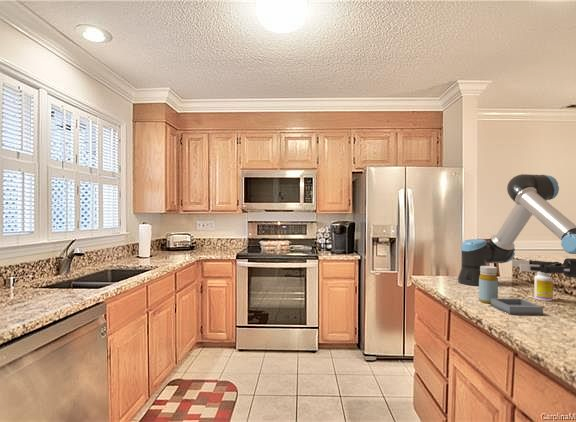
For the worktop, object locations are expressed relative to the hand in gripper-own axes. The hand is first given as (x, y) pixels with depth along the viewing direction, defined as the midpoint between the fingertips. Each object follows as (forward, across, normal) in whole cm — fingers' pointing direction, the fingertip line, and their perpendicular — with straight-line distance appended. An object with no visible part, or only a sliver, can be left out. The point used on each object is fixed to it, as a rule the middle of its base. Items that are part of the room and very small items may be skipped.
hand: (515, 265), depth 146 cm
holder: (+2, -10, -16) cm, 19 cm away
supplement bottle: (-14, +14, -16) cm, 26 cm away
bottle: (+10, 0, -16) cm, 19 cm away
